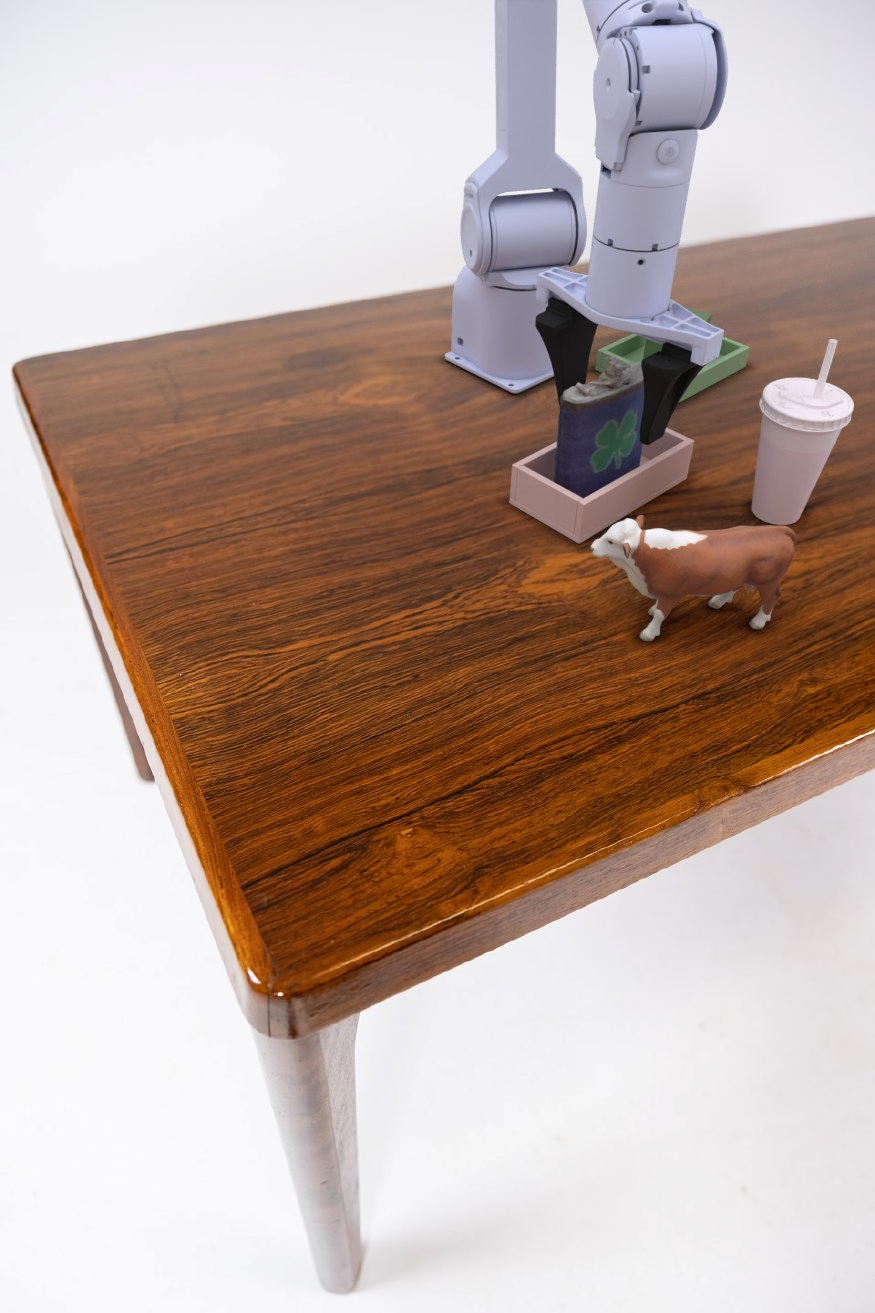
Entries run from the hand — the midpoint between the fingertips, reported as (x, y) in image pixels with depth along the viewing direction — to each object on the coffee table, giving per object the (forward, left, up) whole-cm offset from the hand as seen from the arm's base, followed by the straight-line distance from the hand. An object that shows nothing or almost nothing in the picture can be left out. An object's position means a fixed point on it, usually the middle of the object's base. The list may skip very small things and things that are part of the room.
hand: (609, 419), depth 76 cm
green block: (-9, +21, -6) cm, 24 cm away
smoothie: (+11, +8, -6) cm, 15 cm away
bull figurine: (+14, -8, -6) cm, 17 cm away
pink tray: (0, 0, -6) cm, 6 cm away
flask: (0, 0, -6) cm, 6 cm away
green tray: (-9, +21, -6) cm, 24 cm away
